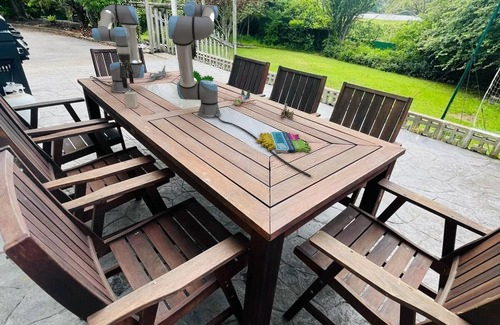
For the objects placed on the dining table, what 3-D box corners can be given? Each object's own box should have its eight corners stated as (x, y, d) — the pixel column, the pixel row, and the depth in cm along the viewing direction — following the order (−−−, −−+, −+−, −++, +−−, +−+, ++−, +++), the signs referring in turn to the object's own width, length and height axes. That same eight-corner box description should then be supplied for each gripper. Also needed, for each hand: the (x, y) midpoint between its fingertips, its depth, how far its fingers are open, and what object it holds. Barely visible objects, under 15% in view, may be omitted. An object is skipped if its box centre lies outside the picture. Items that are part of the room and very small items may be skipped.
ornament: (208, 92, 257) (212, 77, 255) (210, 92, 249) (214, 76, 248) (188, 85, 249) (191, 70, 247) (189, 85, 241) (193, 69, 239)
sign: (313, 150, 142) (258, 149, 139) (312, 153, 143) (258, 152, 140) (301, 132, 164) (254, 130, 161) (301, 134, 165) (254, 133, 162)
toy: (261, 91, 228) (254, 99, 202) (261, 99, 231) (253, 108, 205) (231, 87, 233) (220, 95, 207) (230, 95, 236) (219, 104, 210)
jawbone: (291, 106, 199) (293, 98, 190) (292, 123, 193) (294, 114, 184) (278, 106, 199) (280, 97, 190) (279, 122, 193) (281, 114, 184)
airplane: (140, 75, 284) (139, 65, 279) (170, 73, 298) (169, 64, 293) (146, 83, 256) (144, 73, 251) (178, 81, 269) (177, 71, 264)
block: (138, 105, 195) (136, 91, 190) (135, 108, 190) (133, 94, 185) (129, 105, 194) (126, 91, 189) (126, 107, 189) (123, 93, 184)
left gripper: (124, 50, 184) (129, 81, 195) (110, 55, 163) (116, 89, 173) (135, 51, 185) (139, 81, 196) (122, 56, 163) (128, 90, 174)
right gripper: (189, 25, 197) (190, 55, 208) (184, 26, 176) (186, 60, 186) (199, 25, 198) (200, 55, 208) (195, 27, 176) (196, 60, 187)
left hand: (128, 85), depth 184 cm, fingers open, 13 cm apart
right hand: (193, 57), depth 197 cm, fingers open, 13 cm apart
